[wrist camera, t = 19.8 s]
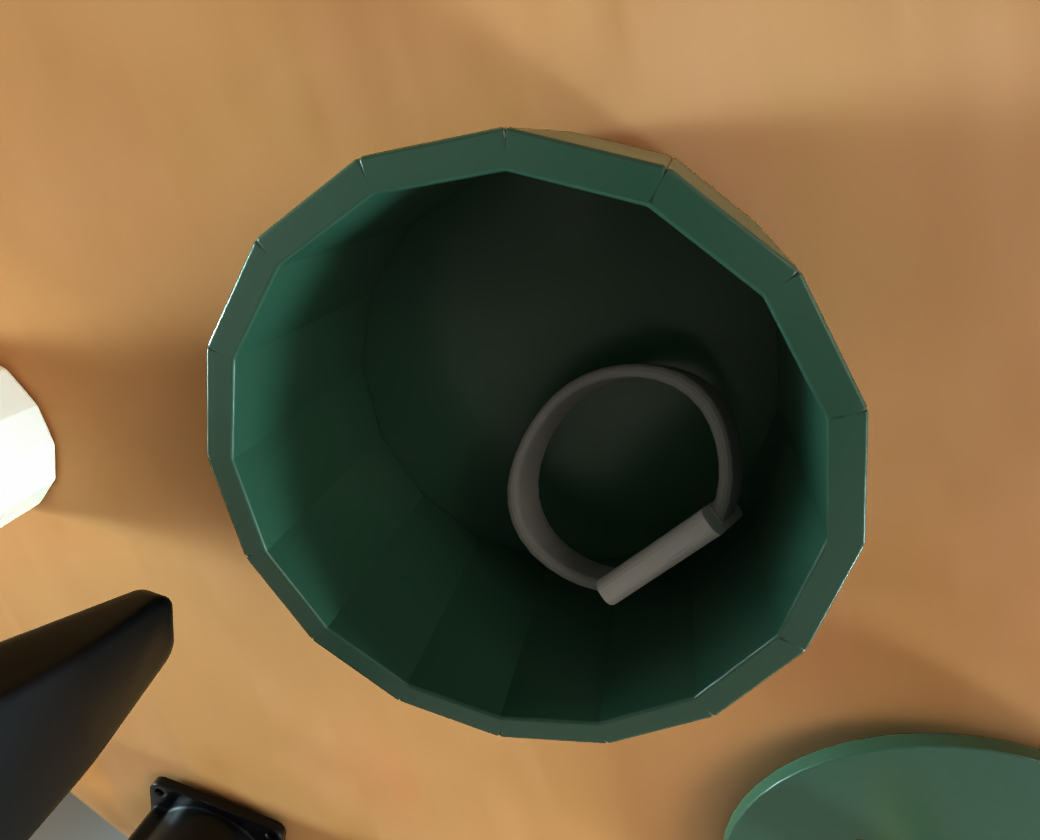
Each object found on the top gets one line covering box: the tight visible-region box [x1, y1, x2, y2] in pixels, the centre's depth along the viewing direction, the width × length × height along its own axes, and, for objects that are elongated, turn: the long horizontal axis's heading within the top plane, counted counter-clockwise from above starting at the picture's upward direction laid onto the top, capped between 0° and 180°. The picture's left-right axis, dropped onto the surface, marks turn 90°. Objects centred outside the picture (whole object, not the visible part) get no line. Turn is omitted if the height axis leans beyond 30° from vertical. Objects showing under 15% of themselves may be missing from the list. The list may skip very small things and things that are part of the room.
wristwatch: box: [507, 364, 743, 605], centre depth 16 cm, size 6×3×5 cm
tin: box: [207, 127, 868, 743], centre depth 15 cm, size 12×12×6 cm
